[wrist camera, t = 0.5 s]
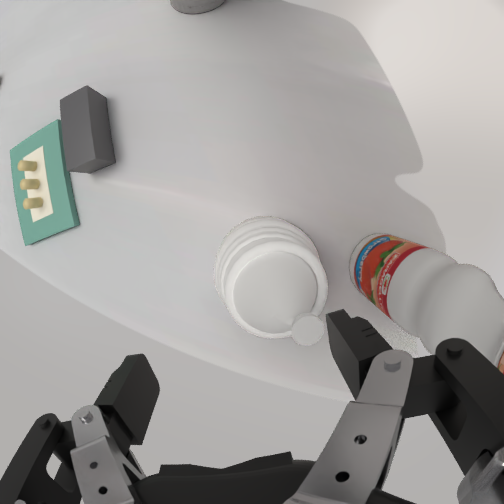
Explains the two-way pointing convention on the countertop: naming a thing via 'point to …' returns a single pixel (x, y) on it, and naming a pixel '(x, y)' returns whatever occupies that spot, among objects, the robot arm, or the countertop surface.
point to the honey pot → (272, 280)
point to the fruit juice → (430, 294)
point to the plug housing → (86, 131)
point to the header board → (43, 185)
